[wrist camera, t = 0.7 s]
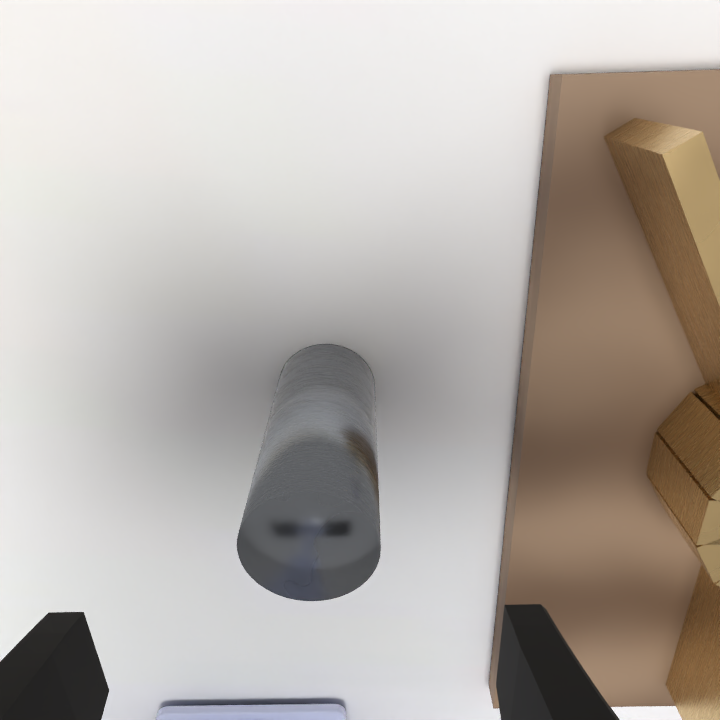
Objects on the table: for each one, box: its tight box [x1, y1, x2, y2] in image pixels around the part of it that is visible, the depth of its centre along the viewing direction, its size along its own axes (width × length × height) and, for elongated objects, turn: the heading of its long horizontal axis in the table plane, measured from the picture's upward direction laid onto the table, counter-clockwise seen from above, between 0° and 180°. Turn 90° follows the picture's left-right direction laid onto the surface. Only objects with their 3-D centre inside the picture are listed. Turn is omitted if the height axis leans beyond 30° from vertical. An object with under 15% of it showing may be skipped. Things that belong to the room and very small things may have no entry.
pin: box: [237, 344, 381, 601], centre depth 16 cm, size 3×3×7 cm
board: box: [489, 69, 720, 708], centre depth 19 cm, size 23×10×1 cm, turn 2°
